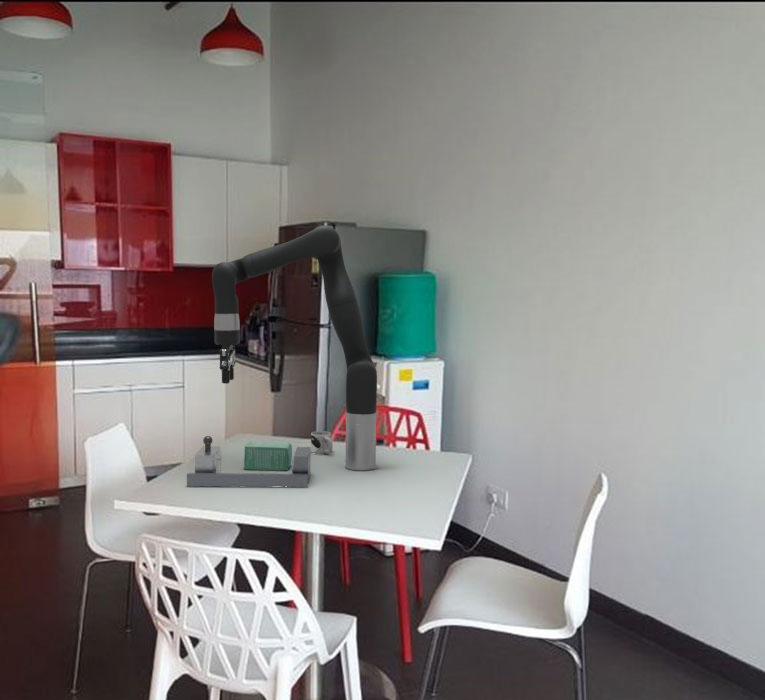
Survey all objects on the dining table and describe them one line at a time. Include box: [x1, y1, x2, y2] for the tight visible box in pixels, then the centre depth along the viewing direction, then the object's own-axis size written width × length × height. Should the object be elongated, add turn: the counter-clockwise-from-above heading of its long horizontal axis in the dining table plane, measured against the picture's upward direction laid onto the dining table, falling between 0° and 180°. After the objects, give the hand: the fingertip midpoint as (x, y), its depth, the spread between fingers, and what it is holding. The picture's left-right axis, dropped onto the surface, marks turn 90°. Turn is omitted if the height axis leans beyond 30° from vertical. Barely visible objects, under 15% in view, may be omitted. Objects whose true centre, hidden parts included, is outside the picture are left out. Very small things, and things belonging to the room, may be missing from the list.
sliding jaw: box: [194, 435, 223, 473], centre depth 209 cm, size 6×12×12 cm, turn 3°
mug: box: [310, 430, 333, 455], centre depth 242 cm, size 10×7×7 cm, turn 36°
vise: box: [186, 446, 312, 488], centre depth 208 cm, size 33×15×8 cm, turn 93°
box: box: [243, 441, 293, 471], centre depth 222 cm, size 7×14×8 cm, turn 89°
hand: (228, 381), depth 223 cm, fingers open, 8 cm apart
